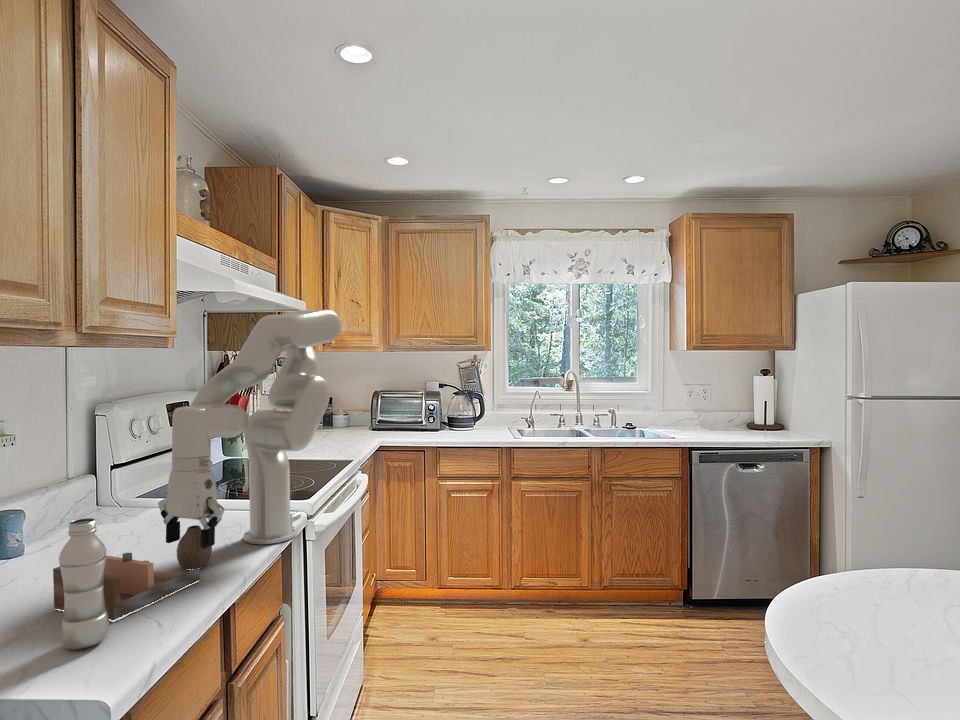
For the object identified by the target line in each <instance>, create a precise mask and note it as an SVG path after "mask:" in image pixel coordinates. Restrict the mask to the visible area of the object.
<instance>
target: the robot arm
mask: <svg viewBox="0 0 960 720" xmlns="http://www.w3.org/2000/svg"><path fill="white" fill-rule="evenodd" d="M341 330H342V321H341V319H340V317H339V315H338V314H337V313H336V312H335V311H333V310H330V309H311V310H310V309H307V310H305V309H304V310H303V309H302V310H296V311H294V310H293V311H291V312H289V313H287V314H285V313H284V314H269V315H268V314H267V315H265V316H263V317H262V318H260V319H259V320H258V321H257V323H255V325H254V327H253V329H252V330H251V332H250V334H249V336H248V337H247V339H246V340H245V342H244V344H243V345H242V347H241V349H240V351H238V353H237V355H236V357H235V358H234V360H233V361H232V362H231V363H229V364H228V365H226V366H225V367H224V368H222V369H220V371H219V372H217V373H216V374H215V375H213V376H212V377H211V378H209V379H208V380H207V381H206V382H205V383H204V384H203V386H202V387H201V388H200V389H199V391H198V392H197V394H196V395H195V397H194V399H193V400H192V402H191V404H190V405H189V406H180V407H177V408H175V409H174V411H173V413H172V423H171V425H172V427H171V428H172V430H171V432H172V433H171V437H172V438H171V441H172V442H171V444H172V445H171V470H170V472H169V476H168V477H169V478H168V482H167V491H166V497H165V498H163V499H162V500H160V501H158V502H157V505H158V508H159V511H160V515H161V517H162V518H163V524H164V525H165V543H166V544H171V543H173V542H177V541H180V540H181V521H179V520H180V519H181V518H182V519H187V520H188V519H189V520H195V521H196V520H198V521H199V522H200V524H201V527H202V528H201V529H202V530H201V548H207V547H210V546H212V547H213V546H214V545H215V543H216V539H215V538H216V527H217V526H218V525H219V524H220V523H219V522H221V520H222V517H223V515H224V512H225V508H224V507H223V506H222V505H221V504H220V503H218V494H217V493H218V492H217V482H216V478H215V477H216V476H215V472H214V470H213V469H211V467H212V466H213V461H212V460H211V452H212V449H211V448H212V441H211V440H212V439H213V438H223V439H232V438H236V437H239V436H240V435H241V434H243V437H244V441H245V445H246V446H245V447H246V449H247V450H246V451H247V456H248V481H249V483H248V484H249V486H248V488H249V490H248V491H249V494H248V496H249V530H247V531H246V532H244V533H243V536H242V537H243V540H244V542H245V543H248V544H253V545H270V544H271V545H272V544H278V543H282V542H283V543H284V542H286V541H289V540H292V539H293V538H295V537H296V536H297V534H298V530H297V528H296V527H295V526H293V523H295V521H298V520H301V518H302V517H301V516H302V514H301V513H300V512H298V511H297V512H294V513H291V482H290V480H291V479H290V478H291V476H290V474H291V473H290V472H291V471H290V462H289V458H288V455H287V453H286V452H300V451H302V450H304V449H306V448H307V447H308V446H309V444H310V443H312V440H313V438H314V436H315V434H316V432H317V430H318V427H319V426H320V423H321V421H322V420H323V417H324V415H325V414H326V410H327V409H328V405H329V403H330V399H331V397H330V394H331V392H330V391H331V390H330V386H329V384H328V382H327V380H326V379H325V378H323V377H321V376H320V375H316V373H317V370H318V365H319V361H318V357H317V354H316V352H315V351H316V350H315V349H314V347H315V346H320V345H324V344H327V343H331V342H333V341H335V340H336V339H337V338H338V337H339V336H340V333H341ZM285 349H286V355H285V359H284V361H283V363H282V365H281V368H280V370H279V371H278V373H277V375H276V376H275V378H274V380H273V382H272V384H271V387H270V389H269V392H268V396H267V397H268V399H267V400H268V402H269V405H270V406H271V407H272V408H275V409H276V410H275V409H274V410H272V409H271V410H270V409H264V410H263V409H262V410H258V411H255V412H253V413H252V414H250V415H249V416H248V414H247V412H246V411H245V410H244V409H243V408H242V407H240V406H239V405H235V404H228V403H227V401H228V400H230V398H232V397H234V396H235V395H236V394H238V393H239V392H241V391H243V390H245V389H249V388H251V387H253V386H255V385H258V384H259V383H262V382H264V381H265V380H266V379H267V378H268V377H269V375H270V374H271V371H272V369H273V368H274V366H275V364H276V362H277V361H278V359H279V357H280V355H281V354H282V353H283V350H285Z"/></svg>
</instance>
